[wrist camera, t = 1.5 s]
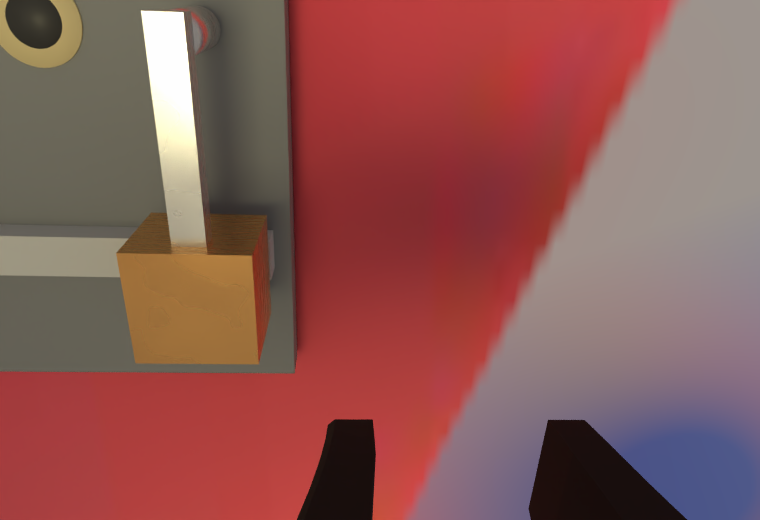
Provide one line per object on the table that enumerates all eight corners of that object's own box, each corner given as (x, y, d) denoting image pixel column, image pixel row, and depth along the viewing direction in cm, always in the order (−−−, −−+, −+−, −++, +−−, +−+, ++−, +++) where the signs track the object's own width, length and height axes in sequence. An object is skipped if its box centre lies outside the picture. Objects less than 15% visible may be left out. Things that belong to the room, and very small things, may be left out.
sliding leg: (171, 298, 17) (135, 363, 14) (132, 2, 13) (73, 8, 11) (274, 300, 17) (258, 364, 14) (261, 8, 14) (237, 15, 11)
